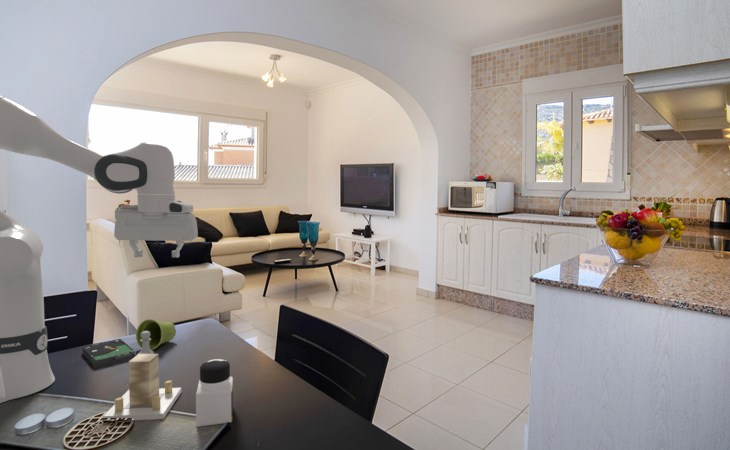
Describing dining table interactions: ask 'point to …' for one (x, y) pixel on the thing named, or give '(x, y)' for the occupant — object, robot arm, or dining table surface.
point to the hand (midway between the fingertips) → (157, 257)
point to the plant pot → (156, 332)
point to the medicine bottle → (214, 394)
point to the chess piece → (145, 343)
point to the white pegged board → (153, 411)
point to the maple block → (143, 379)
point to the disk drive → (108, 353)
